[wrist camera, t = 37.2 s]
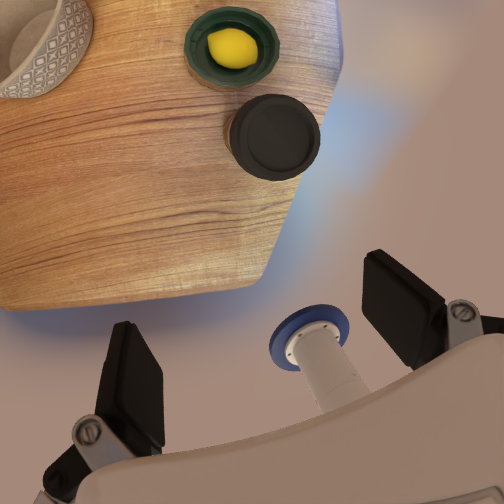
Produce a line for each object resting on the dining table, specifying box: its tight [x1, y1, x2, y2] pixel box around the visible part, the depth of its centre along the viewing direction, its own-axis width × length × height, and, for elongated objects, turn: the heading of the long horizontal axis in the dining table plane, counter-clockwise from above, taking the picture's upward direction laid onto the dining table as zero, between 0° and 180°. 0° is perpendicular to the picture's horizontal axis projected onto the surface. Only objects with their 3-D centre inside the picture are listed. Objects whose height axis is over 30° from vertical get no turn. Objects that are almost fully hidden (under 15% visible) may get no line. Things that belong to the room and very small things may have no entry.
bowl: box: [184, 6, 280, 92], centre depth 28 cm, size 11×11×5 cm
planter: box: [0, 0, 93, 98], centre depth 16 cm, size 16×16×13 cm
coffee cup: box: [223, 94, 320, 181], centre depth 29 cm, size 8×8×15 cm
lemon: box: [207, 28, 258, 69], centre depth 27 cm, size 7×5×5 cm
